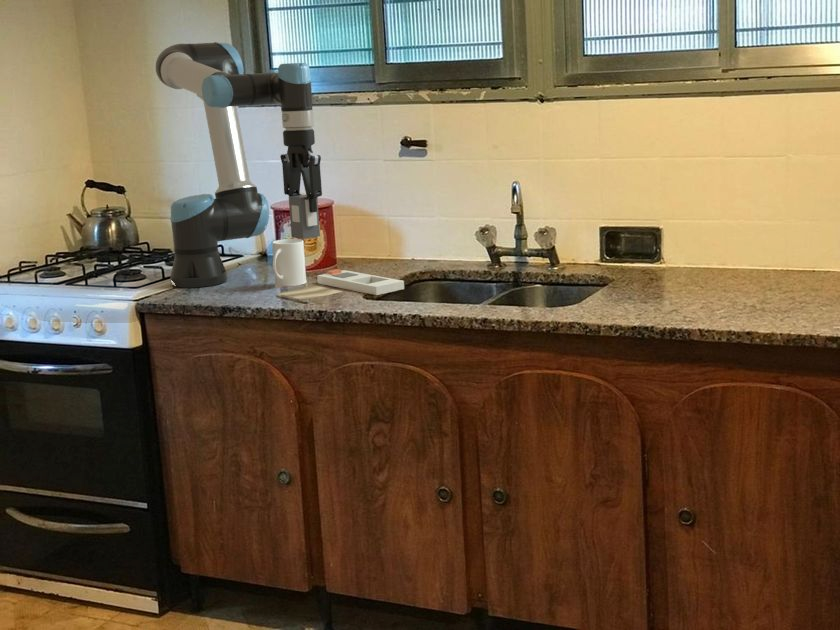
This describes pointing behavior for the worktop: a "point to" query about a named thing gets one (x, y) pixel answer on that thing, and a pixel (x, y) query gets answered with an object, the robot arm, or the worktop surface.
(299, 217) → the block
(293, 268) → the mug
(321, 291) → the trivet
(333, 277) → the strip
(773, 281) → the worktop surface
